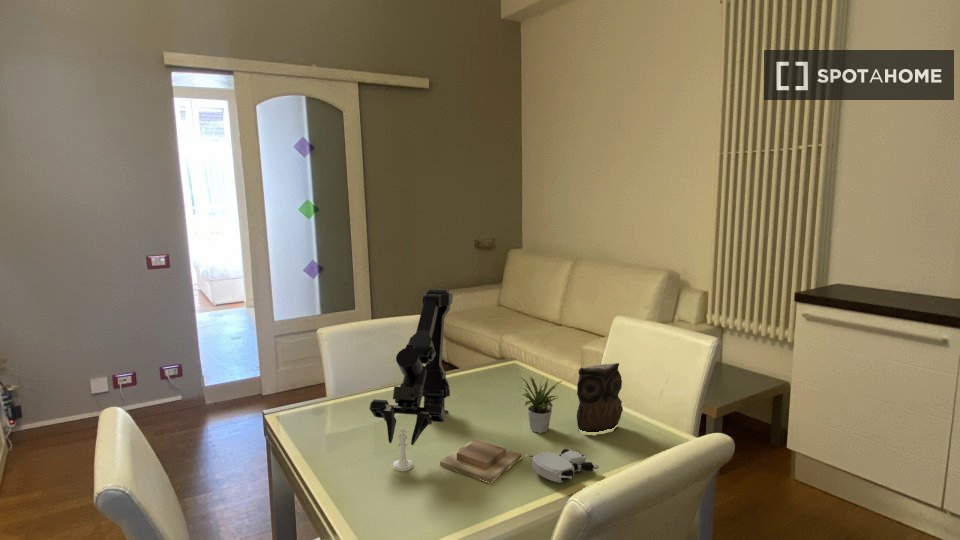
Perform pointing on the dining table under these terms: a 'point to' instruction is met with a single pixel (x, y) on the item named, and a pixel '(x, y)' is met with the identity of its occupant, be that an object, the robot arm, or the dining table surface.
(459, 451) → the pedestal
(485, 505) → the dining table surface
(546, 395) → the house plant
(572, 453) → the robot toy
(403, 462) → the chess piece
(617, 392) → the owl
